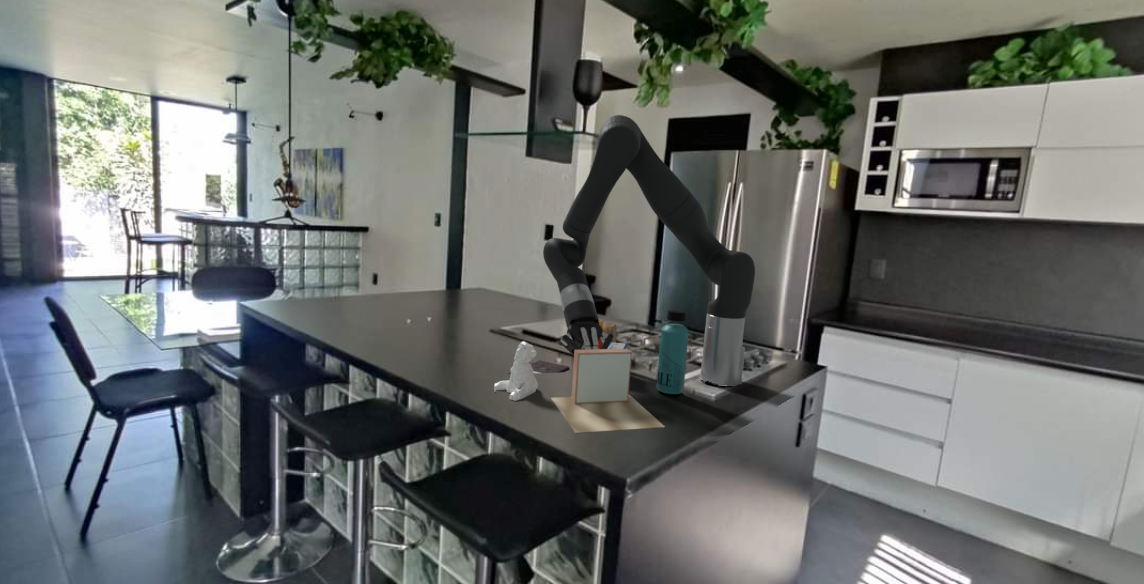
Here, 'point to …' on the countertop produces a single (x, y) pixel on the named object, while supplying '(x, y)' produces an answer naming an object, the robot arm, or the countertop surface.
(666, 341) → the beverage bottle
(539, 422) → the countertop surface
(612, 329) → the tan mottled block
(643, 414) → the birch board
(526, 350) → the sitting furry creature
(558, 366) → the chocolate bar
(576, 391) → the glazed tile
